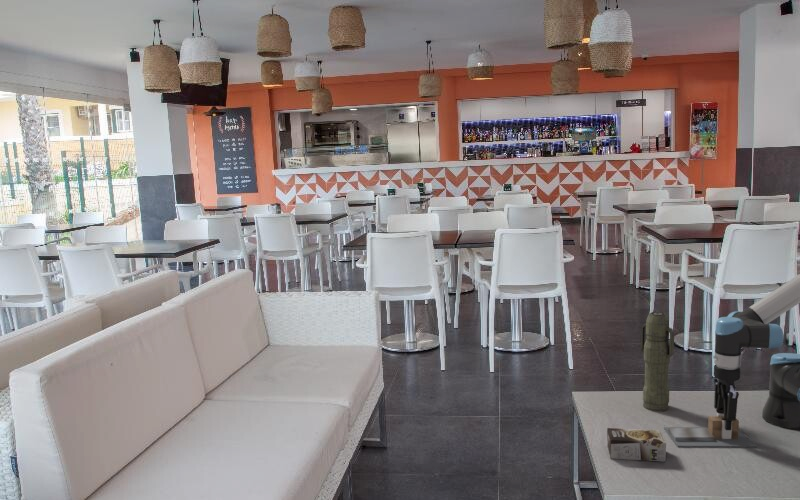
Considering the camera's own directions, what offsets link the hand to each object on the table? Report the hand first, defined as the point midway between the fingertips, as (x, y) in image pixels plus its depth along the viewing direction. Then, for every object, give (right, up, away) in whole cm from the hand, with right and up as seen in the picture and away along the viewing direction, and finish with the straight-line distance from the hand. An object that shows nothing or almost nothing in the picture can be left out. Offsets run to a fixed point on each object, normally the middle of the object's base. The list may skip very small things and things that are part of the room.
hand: (723, 435), depth 211 cm
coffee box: (-24, 0, -11) cm, 26 cm away
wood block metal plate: (-6, 0, +1) cm, 6 cm away
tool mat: (-5, -1, +1) cm, 5 cm away
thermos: (-11, +3, +27) cm, 29 cm away
